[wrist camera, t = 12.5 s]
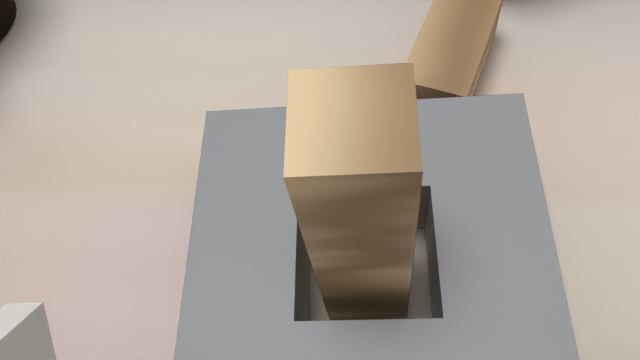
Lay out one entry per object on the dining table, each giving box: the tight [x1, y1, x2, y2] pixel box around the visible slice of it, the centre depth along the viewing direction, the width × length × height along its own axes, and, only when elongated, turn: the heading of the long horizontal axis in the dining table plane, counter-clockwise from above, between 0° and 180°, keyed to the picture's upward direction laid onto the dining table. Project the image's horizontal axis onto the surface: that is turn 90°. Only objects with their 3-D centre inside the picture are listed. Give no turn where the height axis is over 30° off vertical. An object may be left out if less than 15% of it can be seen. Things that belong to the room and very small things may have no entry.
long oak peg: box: [283, 63, 423, 321], centre depth 17 cm, size 3×3×11 cm
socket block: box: [174, 93, 579, 360], centre depth 20 cm, size 12×12×4 cm
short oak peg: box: [407, 0, 503, 99], centre depth 25 cm, size 3×6×3 cm, turn 157°
